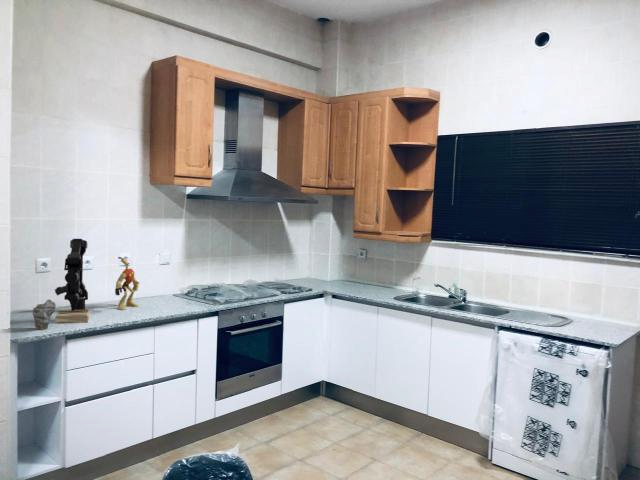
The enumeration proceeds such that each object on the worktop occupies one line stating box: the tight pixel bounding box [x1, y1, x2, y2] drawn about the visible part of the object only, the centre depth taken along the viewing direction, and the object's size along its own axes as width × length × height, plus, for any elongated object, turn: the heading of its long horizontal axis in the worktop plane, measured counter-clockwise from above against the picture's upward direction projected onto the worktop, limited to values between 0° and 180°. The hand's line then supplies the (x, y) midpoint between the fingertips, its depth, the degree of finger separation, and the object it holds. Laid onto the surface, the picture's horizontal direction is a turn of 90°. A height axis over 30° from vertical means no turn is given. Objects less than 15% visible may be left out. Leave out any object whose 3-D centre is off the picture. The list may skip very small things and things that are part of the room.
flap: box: [57, 308, 90, 313], centre depth 278 cm, size 4×14×1 cm, turn 108°
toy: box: [114, 256, 140, 311], centre depth 310 cm, size 23×9×30 cm, turn 168°
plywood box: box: [54, 311, 91, 324], centre depth 276 cm, size 10×15×4 cm, turn 108°
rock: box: [32, 299, 57, 330], centre depth 257 cm, size 13×6×15 cm, turn 52°
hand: (73, 310), depth 276 cm, fingers closed
